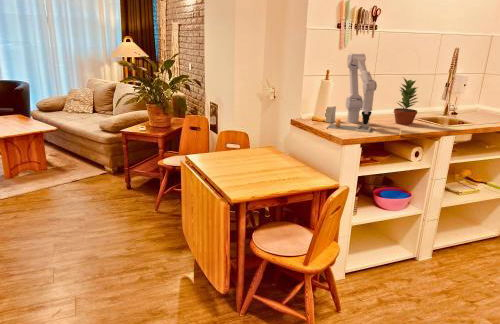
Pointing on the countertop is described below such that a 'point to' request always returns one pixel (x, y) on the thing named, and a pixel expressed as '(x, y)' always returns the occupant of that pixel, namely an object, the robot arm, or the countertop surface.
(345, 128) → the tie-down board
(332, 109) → the small box
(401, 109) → the potted plant
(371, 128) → the beige open rectangular frame
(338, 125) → the post
